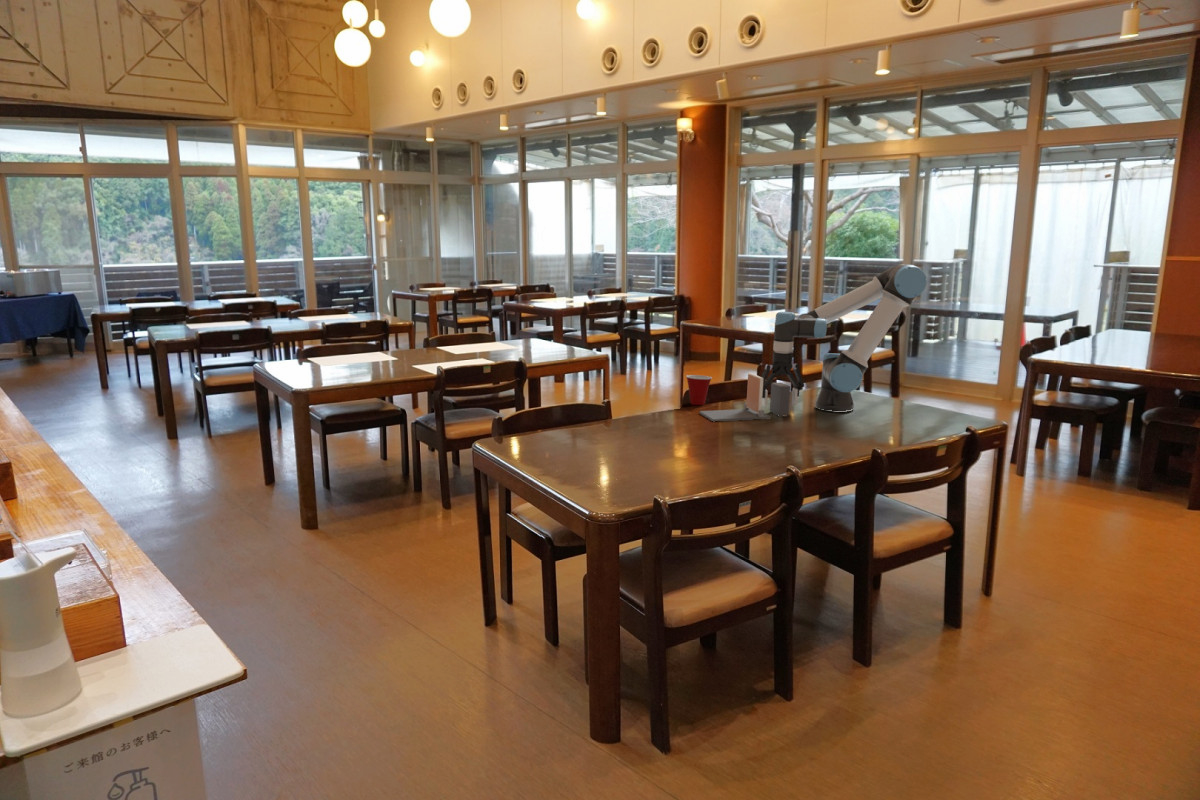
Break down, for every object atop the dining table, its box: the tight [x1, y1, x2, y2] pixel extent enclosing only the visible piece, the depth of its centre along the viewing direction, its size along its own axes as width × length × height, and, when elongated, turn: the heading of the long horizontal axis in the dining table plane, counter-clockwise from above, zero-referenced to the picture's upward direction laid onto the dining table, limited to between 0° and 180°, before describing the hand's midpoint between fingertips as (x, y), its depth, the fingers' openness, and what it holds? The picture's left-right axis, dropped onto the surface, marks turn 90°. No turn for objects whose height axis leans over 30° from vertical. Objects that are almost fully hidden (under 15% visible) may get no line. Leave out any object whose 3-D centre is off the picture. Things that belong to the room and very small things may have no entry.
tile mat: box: [699, 402, 772, 423], centre depth 307 cm, size 24×14×4 cm, turn 105°
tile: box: [745, 372, 763, 414], centre depth 307 cm, size 2×11×14 cm, turn 14°
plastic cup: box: [685, 374, 713, 406], centre depth 327 cm, size 11×11×12 cm
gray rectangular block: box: [769, 382, 791, 417], centre depth 311 cm, size 4×8×12 cm, turn 14°
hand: (779, 405), depth 311 cm, fingers open, 12 cm apart
